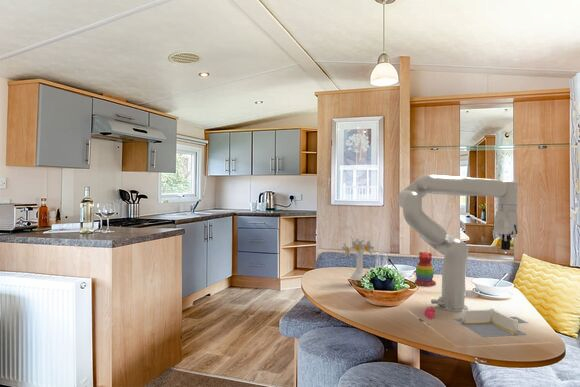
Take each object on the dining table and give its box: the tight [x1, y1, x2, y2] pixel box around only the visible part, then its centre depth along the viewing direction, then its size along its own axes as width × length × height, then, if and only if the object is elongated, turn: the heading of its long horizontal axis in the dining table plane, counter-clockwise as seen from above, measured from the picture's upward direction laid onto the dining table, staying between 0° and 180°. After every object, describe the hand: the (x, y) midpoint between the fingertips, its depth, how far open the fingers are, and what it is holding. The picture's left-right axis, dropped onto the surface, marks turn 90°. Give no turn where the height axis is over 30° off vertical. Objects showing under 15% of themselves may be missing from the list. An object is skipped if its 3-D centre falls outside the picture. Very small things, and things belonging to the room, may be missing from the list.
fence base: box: [454, 308, 529, 338], centre depth 148 cm, size 28×18×6 cm, turn 99°
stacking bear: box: [414, 251, 437, 287], centre depth 211 cm, size 11×10×18 cm
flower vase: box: [341, 238, 375, 281], centre depth 205 cm, size 13×18×25 cm
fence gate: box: [493, 310, 519, 333], centre depth 146 cm, size 12×1×5 cm, turn 12°
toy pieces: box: [418, 306, 436, 326], centre depth 154 cm, size 12×11×4 cm
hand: (505, 249), depth 169 cm, fingers closed
